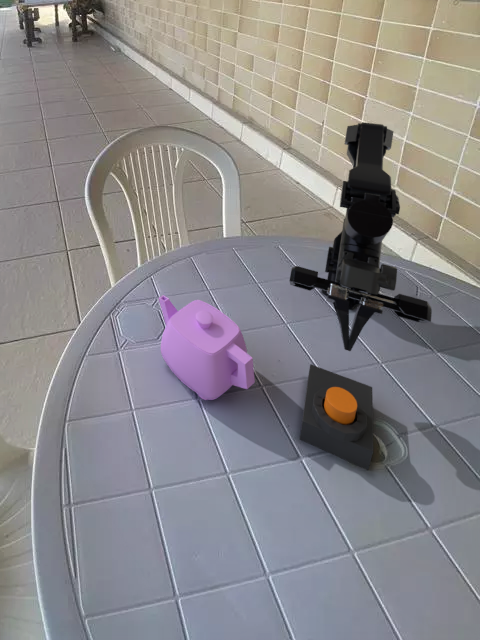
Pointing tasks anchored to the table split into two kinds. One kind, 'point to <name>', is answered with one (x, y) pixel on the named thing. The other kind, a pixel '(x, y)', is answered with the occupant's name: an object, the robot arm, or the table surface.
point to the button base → (332, 435)
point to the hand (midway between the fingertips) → (347, 350)
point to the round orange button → (340, 405)
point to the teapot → (205, 349)
